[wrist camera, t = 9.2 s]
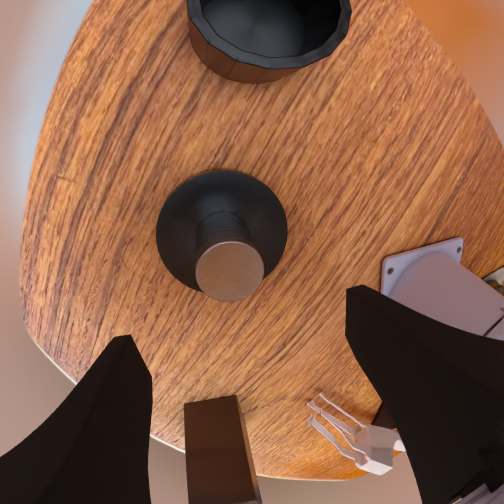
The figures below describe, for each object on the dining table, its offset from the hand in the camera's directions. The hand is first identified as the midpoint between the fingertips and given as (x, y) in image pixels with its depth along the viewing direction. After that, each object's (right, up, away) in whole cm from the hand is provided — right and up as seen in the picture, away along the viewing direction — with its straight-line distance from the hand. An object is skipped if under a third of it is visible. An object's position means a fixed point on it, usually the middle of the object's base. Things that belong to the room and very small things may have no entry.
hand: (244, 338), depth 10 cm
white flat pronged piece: (+12, -14, +18) cm, 26 cm away
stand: (-3, -11, +14) cm, 18 cm away
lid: (-1, +4, +7) cm, 8 cm away
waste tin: (0, +14, +3) cm, 15 cm away
